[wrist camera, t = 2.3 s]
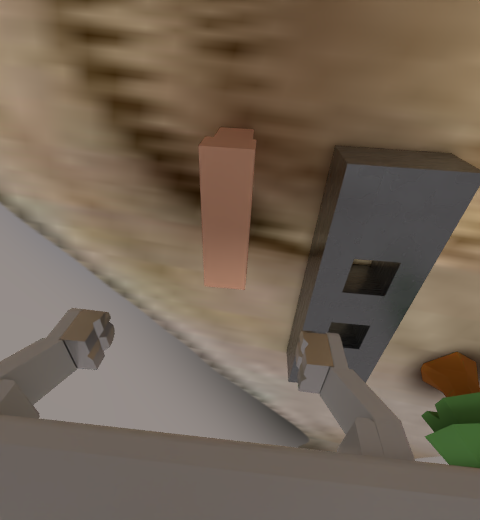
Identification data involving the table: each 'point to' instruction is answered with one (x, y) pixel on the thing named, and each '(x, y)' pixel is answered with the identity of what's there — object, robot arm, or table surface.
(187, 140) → the table surface
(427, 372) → the decorative tree
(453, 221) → the grey metal flat block
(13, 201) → the table surface
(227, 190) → the brown block
